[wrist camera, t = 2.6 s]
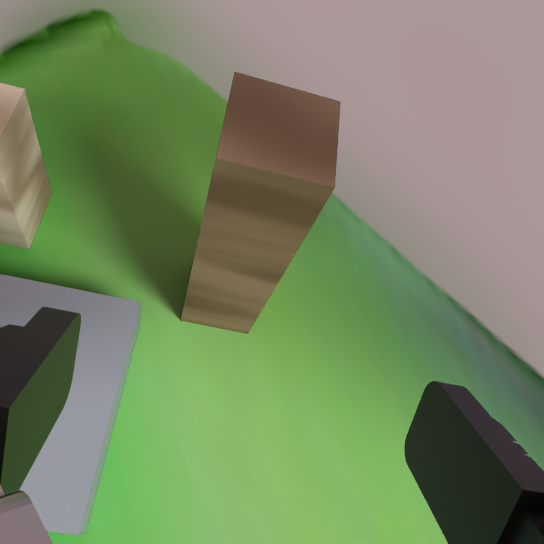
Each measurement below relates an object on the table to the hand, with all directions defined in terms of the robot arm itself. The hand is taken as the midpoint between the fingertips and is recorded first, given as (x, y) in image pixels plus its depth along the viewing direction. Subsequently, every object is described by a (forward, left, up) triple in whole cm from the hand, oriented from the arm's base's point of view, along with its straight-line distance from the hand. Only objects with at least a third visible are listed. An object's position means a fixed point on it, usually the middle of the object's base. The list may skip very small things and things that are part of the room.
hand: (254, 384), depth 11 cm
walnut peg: (-3, -8, -15) cm, 17 cm away
